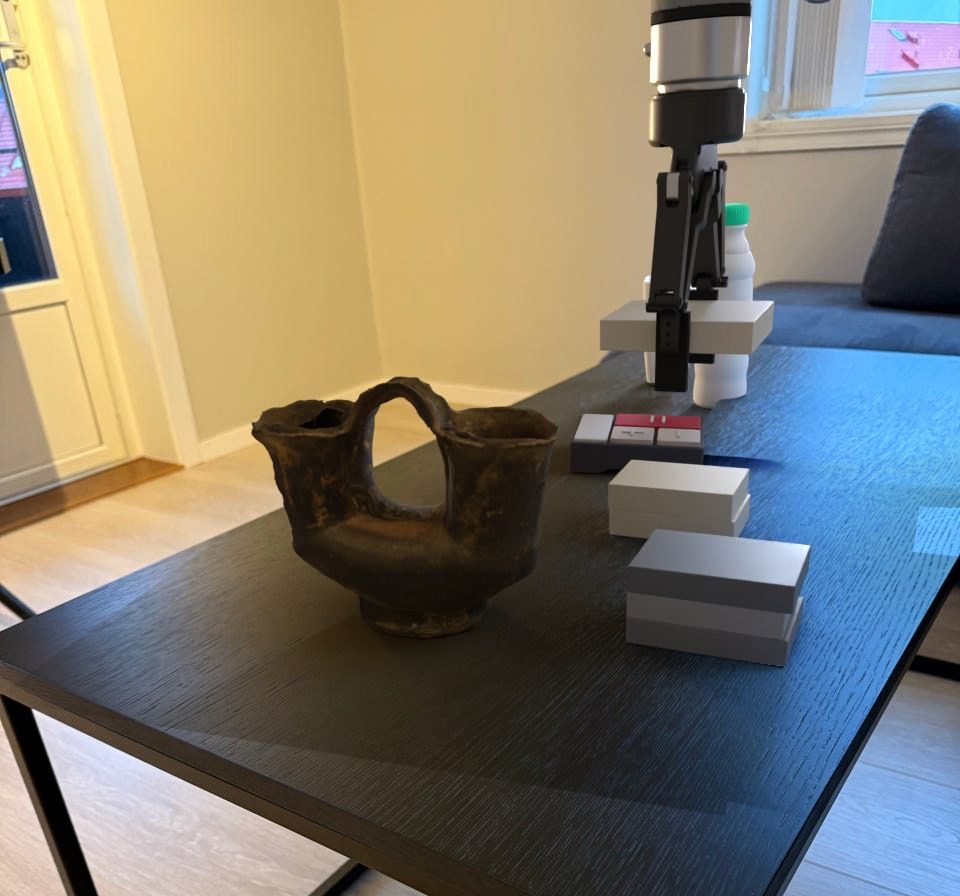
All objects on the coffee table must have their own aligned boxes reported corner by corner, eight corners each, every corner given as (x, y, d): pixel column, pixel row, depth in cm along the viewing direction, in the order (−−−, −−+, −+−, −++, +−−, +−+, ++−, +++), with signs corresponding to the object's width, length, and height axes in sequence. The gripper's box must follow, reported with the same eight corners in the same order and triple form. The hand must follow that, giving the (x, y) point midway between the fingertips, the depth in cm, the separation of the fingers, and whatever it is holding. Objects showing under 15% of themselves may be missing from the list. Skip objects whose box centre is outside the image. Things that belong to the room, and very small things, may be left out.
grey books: (802, 621, 73) (811, 544, 70) (786, 668, 68) (795, 586, 64) (652, 601, 78) (654, 528, 75) (625, 642, 72) (626, 565, 69)
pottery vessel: (262, 627, 79) (213, 393, 69) (321, 573, 88) (285, 359, 78) (545, 658, 71) (535, 400, 61) (579, 596, 80) (575, 361, 70)
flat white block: (772, 331, 83) (774, 300, 82) (751, 355, 76) (753, 322, 75) (631, 328, 89) (632, 299, 87) (599, 350, 81) (599, 319, 80)
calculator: (705, 441, 102) (569, 435, 105) (701, 479, 104) (568, 472, 107) (705, 413, 112) (580, 408, 114) (701, 448, 114) (579, 442, 117)
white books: (749, 519, 92) (752, 468, 90) (732, 548, 86) (736, 495, 84) (630, 507, 97) (631, 459, 94) (608, 534, 91) (607, 483, 89)
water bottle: (700, 395, 132) (709, 202, 120) (750, 398, 129) (765, 200, 117) (686, 409, 127) (695, 208, 115) (739, 412, 124) (753, 206, 112)
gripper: (685, 90, 83) (676, 347, 94) (606, 93, 66) (607, 407, 77) (771, 83, 80) (752, 349, 91) (713, 84, 63) (697, 412, 74)
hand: (685, 376), depth 84 cm, fingers closed on flat white block, 9 cm apart
